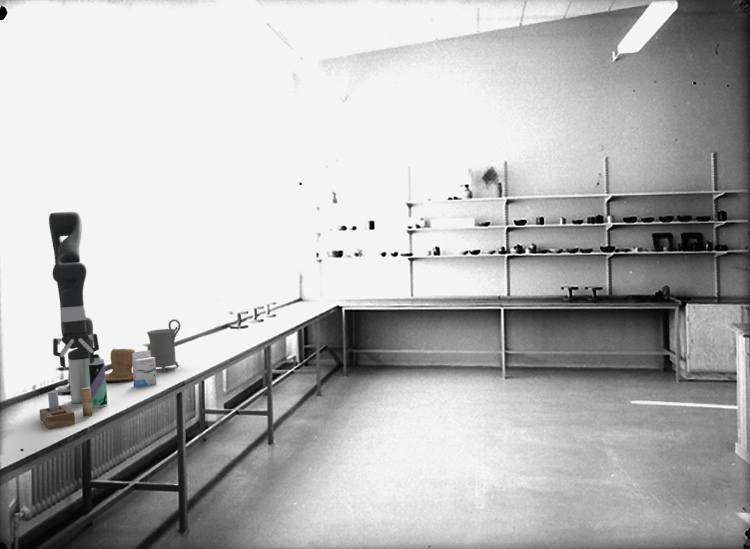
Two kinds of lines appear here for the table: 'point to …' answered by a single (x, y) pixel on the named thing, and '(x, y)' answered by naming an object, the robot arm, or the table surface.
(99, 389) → the spray can
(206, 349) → the table surface
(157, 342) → the mug
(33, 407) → the table surface
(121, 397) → the table surface
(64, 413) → the walnut block
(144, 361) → the ink box
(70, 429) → the table surface
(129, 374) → the tan ankle boot
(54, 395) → the grey peg
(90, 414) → the oak peg
